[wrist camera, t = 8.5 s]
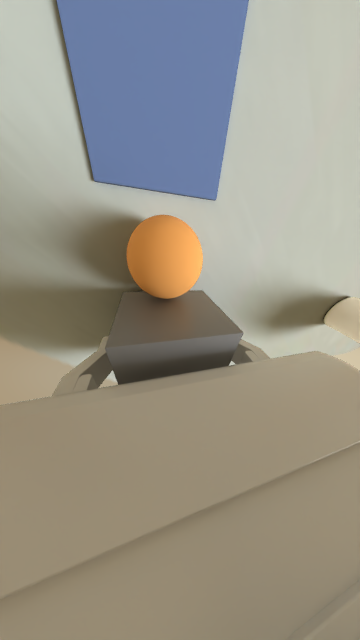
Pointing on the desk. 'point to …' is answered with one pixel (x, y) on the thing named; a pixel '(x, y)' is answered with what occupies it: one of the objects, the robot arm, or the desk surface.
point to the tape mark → (155, 88)
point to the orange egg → (164, 256)
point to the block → (169, 336)
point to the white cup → (345, 318)
